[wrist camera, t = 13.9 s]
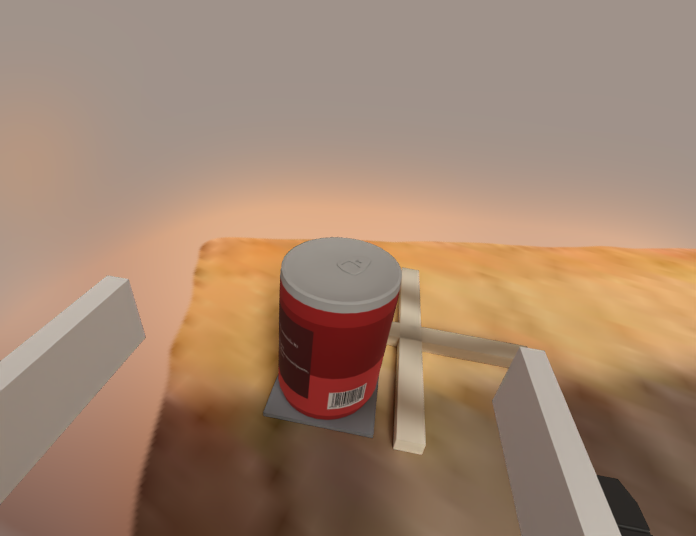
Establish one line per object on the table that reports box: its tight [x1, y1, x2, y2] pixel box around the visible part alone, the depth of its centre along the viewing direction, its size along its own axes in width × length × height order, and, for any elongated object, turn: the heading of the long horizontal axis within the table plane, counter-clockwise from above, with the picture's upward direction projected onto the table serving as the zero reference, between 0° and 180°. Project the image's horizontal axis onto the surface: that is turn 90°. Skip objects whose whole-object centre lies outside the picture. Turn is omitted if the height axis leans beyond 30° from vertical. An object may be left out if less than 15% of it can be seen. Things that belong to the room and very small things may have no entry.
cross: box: [263, 268, 528, 455], centre depth 34 cm, size 22×22×1 cm
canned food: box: [279, 237, 402, 420], centre depth 26 cm, size 8×8×11 cm
